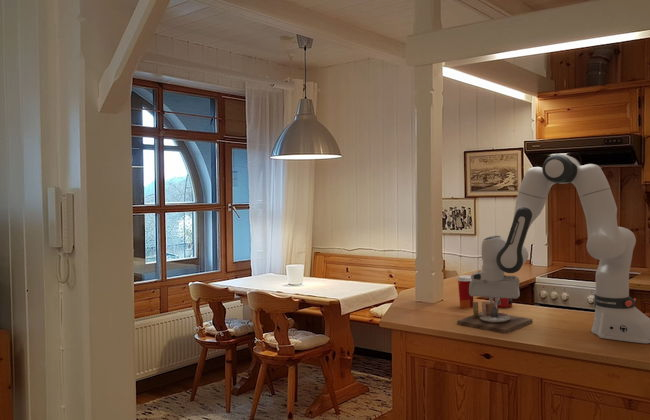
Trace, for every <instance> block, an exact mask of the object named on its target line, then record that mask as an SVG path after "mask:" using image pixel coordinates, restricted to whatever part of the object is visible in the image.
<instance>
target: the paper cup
mask: <svg viewBox="0 0 650 420" xmlns="http://www.w3.org/2000/svg"><path fill="white" fill-rule="evenodd" d="M456 280H457V284H458V296H459V306H460V308H461V309H464V308H470V309H472V308H473V302H474V296H470V294H469V284H470V281H471V280H472V279H471V275H469V274H468V275H467V274H466V275H458V277H457V279H456Z"/></svg>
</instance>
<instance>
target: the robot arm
mask: <svg viewBox="0 0 650 420" xmlns="http://www.w3.org/2000/svg"><path fill="white" fill-rule="evenodd" d="M557 184H559V185H560V184H562V185H564V184H572V185H573V186H574V187H575V189H576V191H577V194H578V197H579V200H580V204H581V207H582V210H583V213H584V217H585V222H586V229H587V231H586V232H587V242H586V251H587V253H588V254H589V256H591V257H592V258H593V259H595V260H599V261H598V266H597V270H596V271H595V293H594V297H593V298H594V299H593V300H594V301H593V302H594V303H593V304H594V309H595V310H594V319H593V324H592V328H591V330H590V331H591V333H592V334H594V335H596V336H597V337H598V338H600V339H606V340H613V341H621V342H628V343H629V342H630V343H638V344H650V317H649V316H647V315H646V314H644V313H643V311H641V310H640V309H638V308H637V307H636V306H635V303H636V300H637V297H636V298H633V297H631V296H630V271H631V264H632V260H633V254H634V253H633V252H634V249H635V246H636V243H637V240H636V235H635V234H634V232H633V231H631V230H630V229H629V228H626V227H622V226H618V225H619V224H618V217H617V213H618V206H617V204H616V200H615V197H614V194H613V193H612V190H611V185H610V184H609V181H608V179H607V177H606V175H605V173H604V171H603V170H602V168H601V167H600V166H599V165H598V164H594V163H587V164H584V165H582V163H581V162H580V160H578V159H577V158H576V157H574V156H570V155H567V154H553V155H551V156H548V157H547V158H546V159H545V161H544V162H543V164H542V167H541V166H534V167H530V168H528V169H527V171H526V172H525V174H524V177H523V178H522V180H521V184H520V186H519V189H518V192H517V196H516V201H515V208H514V213H513V219H512V223H511V227H510V230H509V233H508V236H507V239H505V238H503V236H501V235H493V236H488V237H486V238H484V239H483V240H482V242H481V261H482V266H481V270H479V271H476V272H473V273H472V274H471V275H470V276H471V279H472V280H471V281H470V284H469V294H470V296H473V297H474V298H476V297H478V298H488V301H489V302H491V303H493V308H497V303H498V301H499V300H500V298H512V300H513V299H515V300H517V299H518V298H520V295H521V294H520V293H521V292H520V287H519V286H520V283H521V282H520V281H521V280H520V278H519V277H517V276H516V275H508V274H515V273H517V272H519V271H520V270H521V268H522V267H523V266H524V264H526V262H527V261H528V258H529V253H528V250H527V248H526V247H525V246H524V244H525V240H526V237H527V234H528V231H529V229H530V228H531V225H532V224H533V222H534V221H535V220H536V219H537V218H538V217H539V216H540V215H541V213H542V211H543V209H544V207H545V205H546V202H547V199H548V196H549V193H550V190H551V188H552V187H553V185H557ZM505 273H506V274H507V275H505ZM494 298H495V300H497V301H496V302H495V303H494Z"/></svg>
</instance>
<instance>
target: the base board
mask: <svg viewBox="0 0 650 420" xmlns="http://www.w3.org/2000/svg"><path fill="white" fill-rule="evenodd" d="M472 311H473V312H472V313H473V314H472V315H469V316H466V317H463V318H461V319H458V320H457V321H456V322H457V324H456V325H460V326H466V327H470V328H475V329H480V330H484V331H490V332H494V333H500V334H505V335H507V334H509V333H513V331H516V330H519V329H521V328H523V327H526V326H529V325H531V324H532V323H533V318H528V317H524V316H516V315H511V314H508V315H509V316H510V321H508V322H504V323H488V322H483V321H481V320H480V319H479V315H480V314H483V313H484V312H483V311H479V302H478V301H473V310H472Z"/></svg>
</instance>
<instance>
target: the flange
mask: <svg viewBox="0 0 650 420" xmlns="http://www.w3.org/2000/svg"><path fill="white" fill-rule="evenodd" d="M481 312H484V313H483V314H480V315H479V319H480V320H481V321H483V322H488V323H504V322H508V321H510V316H509V315H510V314H507V313H504V312H499V308H493V303H491V302H490V301H489V300H488V301H481Z"/></svg>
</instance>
